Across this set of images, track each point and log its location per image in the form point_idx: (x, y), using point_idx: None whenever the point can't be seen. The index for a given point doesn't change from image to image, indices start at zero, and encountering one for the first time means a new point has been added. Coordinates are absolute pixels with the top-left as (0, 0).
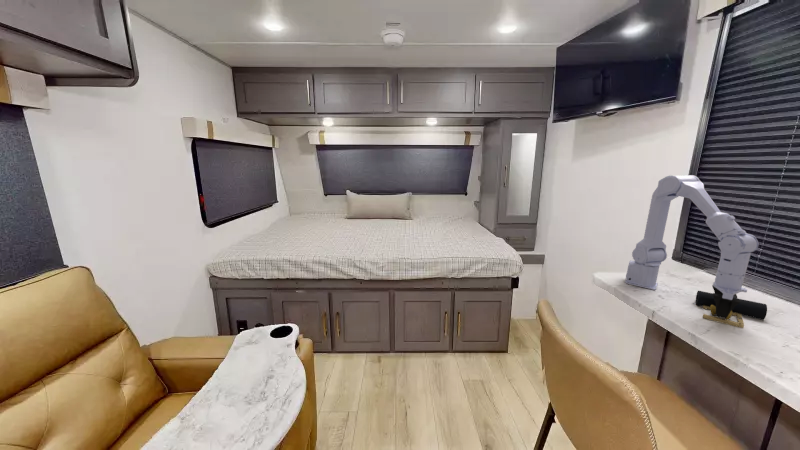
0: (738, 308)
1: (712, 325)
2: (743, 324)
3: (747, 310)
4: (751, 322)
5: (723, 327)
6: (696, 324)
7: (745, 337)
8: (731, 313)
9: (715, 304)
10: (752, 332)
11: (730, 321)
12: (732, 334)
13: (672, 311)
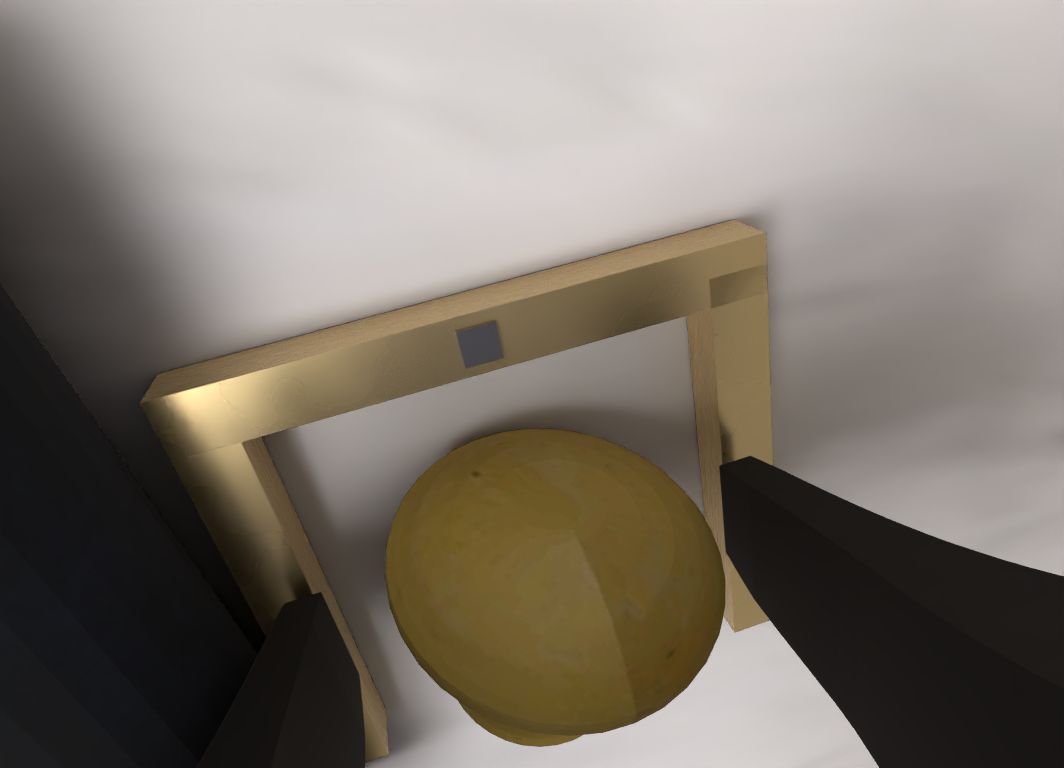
0: (116, 513)
1: (912, 458)
2: (732, 248)
3: (20, 384)
4: (293, 191)
5: (888, 377)
6: (995, 539)
7: (1047, 132)
8: (539, 483)
9: (361, 732)
10: (792, 97)
11: (757, 388)
12: (1044, 258)
13: (804, 752)
